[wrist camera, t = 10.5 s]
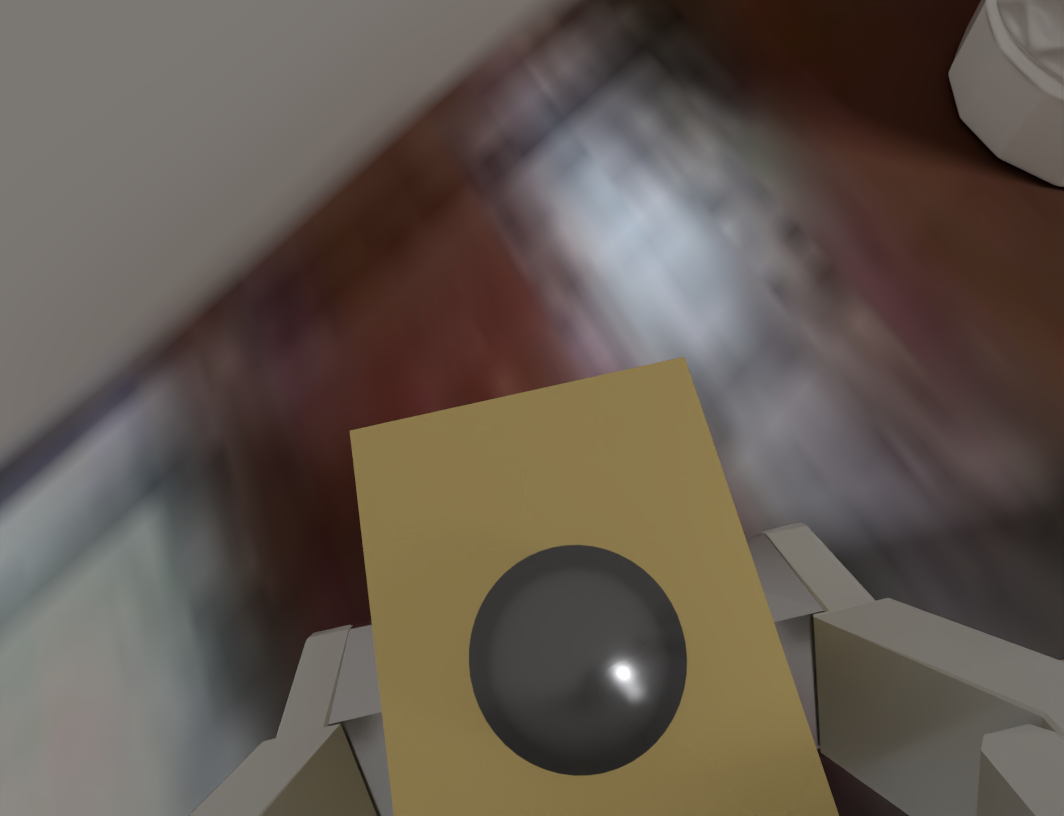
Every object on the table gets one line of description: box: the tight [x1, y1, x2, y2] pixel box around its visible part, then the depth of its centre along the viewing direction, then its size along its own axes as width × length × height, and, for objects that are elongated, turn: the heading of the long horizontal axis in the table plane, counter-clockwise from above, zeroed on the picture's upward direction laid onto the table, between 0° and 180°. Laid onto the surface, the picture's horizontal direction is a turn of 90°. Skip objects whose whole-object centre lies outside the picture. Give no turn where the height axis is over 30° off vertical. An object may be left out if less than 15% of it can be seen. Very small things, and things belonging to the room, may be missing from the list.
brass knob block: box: [350, 357, 839, 816], centre depth 8 cm, size 3×4×8 cm, turn 12°
